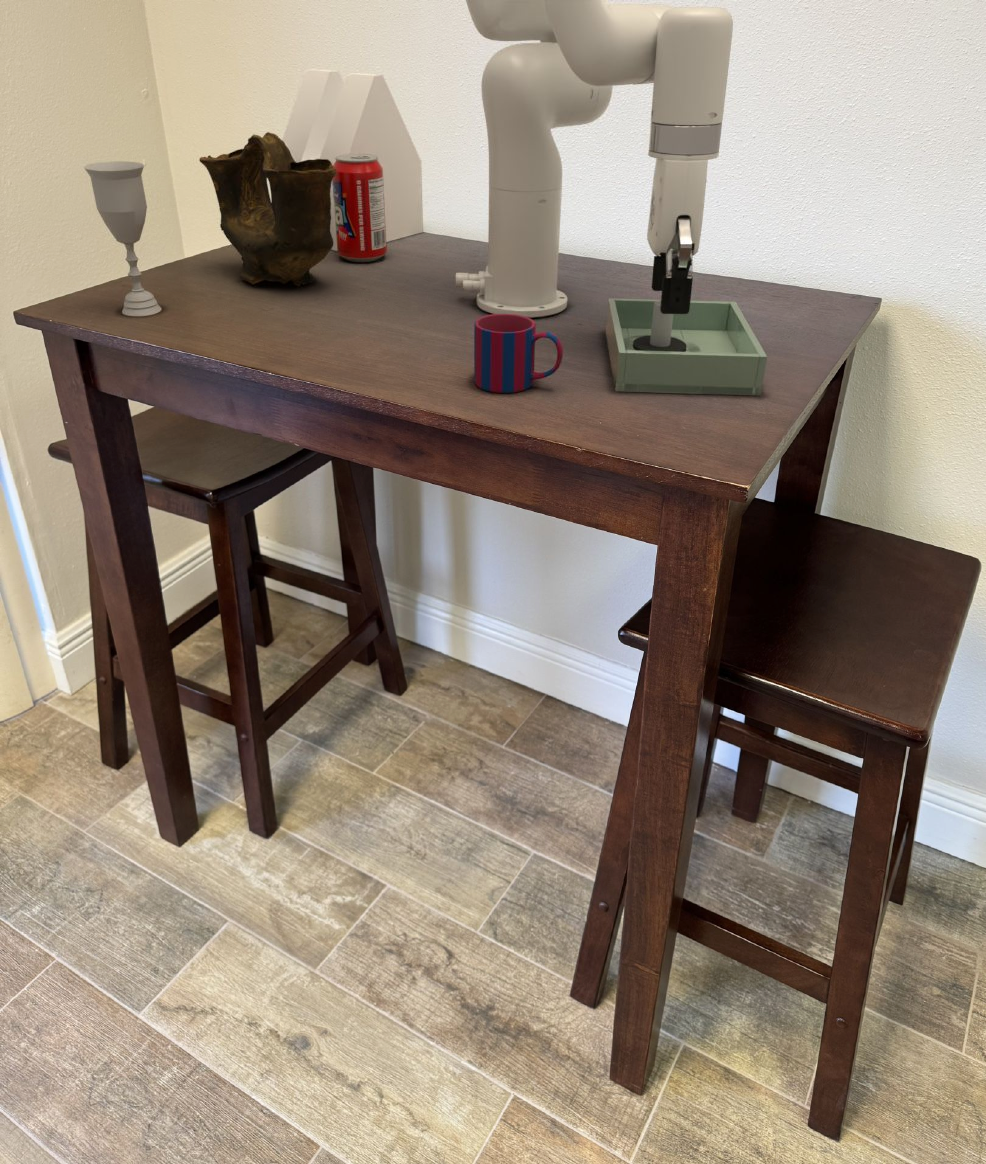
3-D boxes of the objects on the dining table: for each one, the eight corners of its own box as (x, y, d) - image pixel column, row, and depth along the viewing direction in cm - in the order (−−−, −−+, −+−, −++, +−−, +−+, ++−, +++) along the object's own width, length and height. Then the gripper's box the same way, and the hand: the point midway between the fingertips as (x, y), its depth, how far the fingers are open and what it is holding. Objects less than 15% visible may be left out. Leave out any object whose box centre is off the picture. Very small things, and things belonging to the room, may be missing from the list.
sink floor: (615, 391, 104) (616, 382, 104) (605, 333, 121) (606, 325, 120) (760, 395, 104) (761, 387, 103) (730, 336, 120) (731, 328, 120)
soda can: (384, 264, 147) (379, 161, 139) (334, 263, 147) (326, 160, 139) (389, 252, 154) (385, 152, 146) (341, 251, 154) (334, 151, 146)
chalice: (180, 307, 127) (156, 164, 118) (145, 321, 122) (116, 172, 112) (138, 300, 130) (111, 159, 120) (102, 313, 125) (70, 167, 115)
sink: (615, 391, 104) (618, 352, 102) (605, 333, 121) (608, 298, 118) (760, 395, 104) (767, 356, 101) (730, 336, 120) (735, 301, 118)
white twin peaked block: (359, 219, 173) (350, 65, 160) (423, 231, 166) (419, 71, 152) (281, 238, 160) (264, 72, 147) (346, 253, 153) (334, 79, 139)
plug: (634, 363, 111) (639, 310, 108) (630, 345, 117) (635, 294, 113) (688, 365, 111) (695, 312, 108) (681, 346, 117) (688, 295, 113)
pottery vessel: (362, 291, 135) (353, 140, 124) (300, 306, 129) (285, 148, 118) (263, 257, 150) (247, 120, 139) (202, 270, 143) (181, 126, 132)
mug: (491, 367, 110) (492, 309, 106) (569, 383, 106) (573, 324, 102) (463, 386, 105) (463, 326, 101) (544, 403, 101) (547, 341, 97)
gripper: (642, 131, 108) (631, 282, 117) (657, 152, 94) (644, 322, 103) (707, 131, 108) (691, 282, 117) (733, 152, 93) (713, 323, 102)
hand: (669, 301), depth 110 cm, fingers open, 9 cm apart
